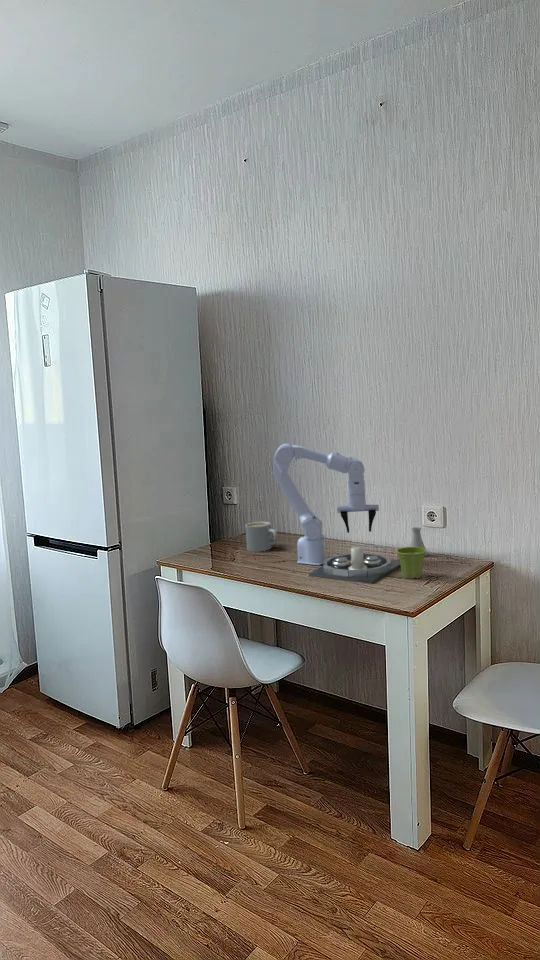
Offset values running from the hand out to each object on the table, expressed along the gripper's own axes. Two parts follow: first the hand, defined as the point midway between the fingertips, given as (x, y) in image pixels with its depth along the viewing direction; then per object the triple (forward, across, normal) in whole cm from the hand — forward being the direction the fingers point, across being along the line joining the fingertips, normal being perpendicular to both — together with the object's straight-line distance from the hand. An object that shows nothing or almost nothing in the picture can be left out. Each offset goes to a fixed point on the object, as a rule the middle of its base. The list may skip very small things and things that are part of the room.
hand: (359, 531), depth 243 cm
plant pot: (+11, -16, +23) cm, 30 cm away
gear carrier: (+10, +2, +13) cm, 17 cm away
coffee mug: (+11, +38, -23) cm, 45 cm away
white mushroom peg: (+9, +2, +18) cm, 21 cm away
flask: (+11, -20, -3) cm, 23 cm away
